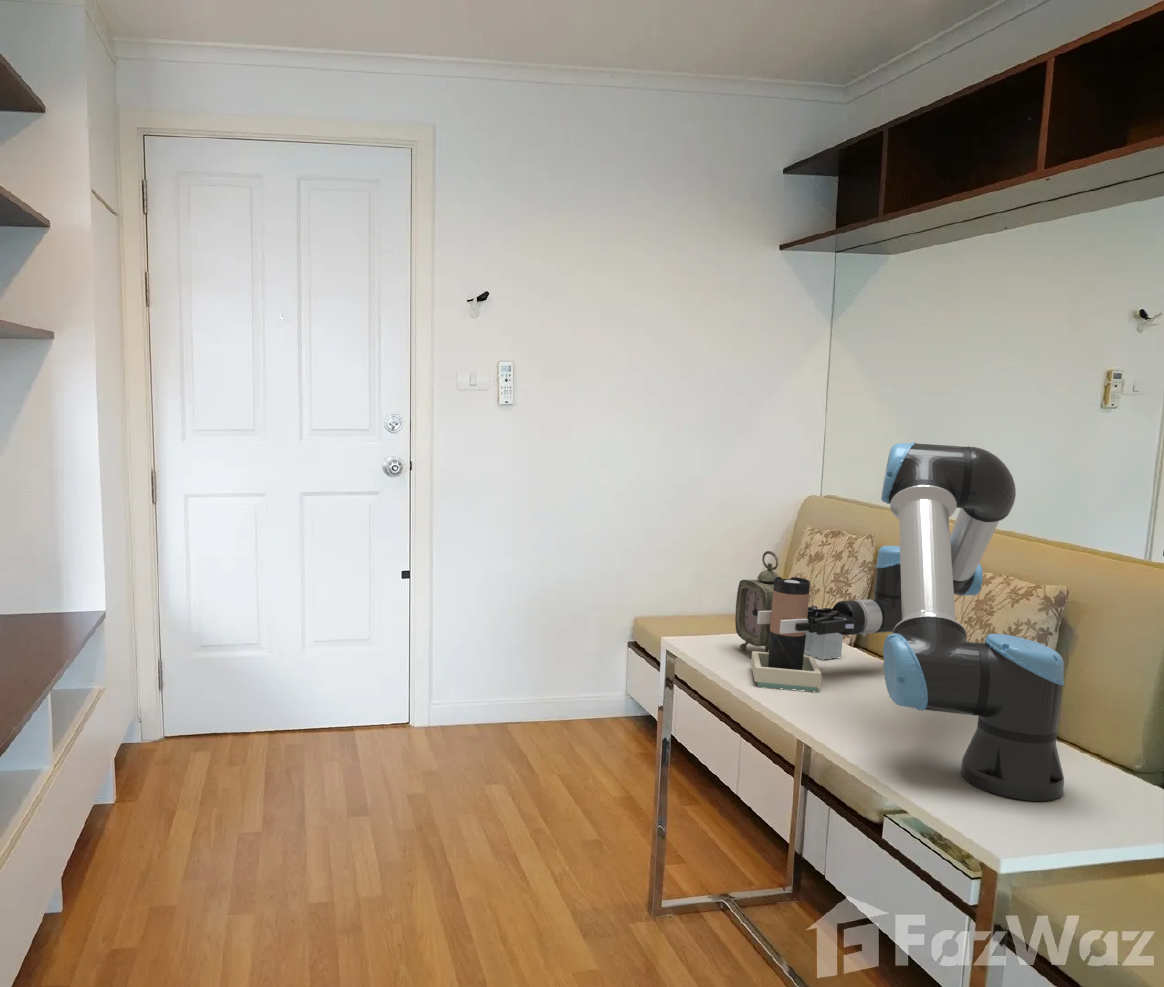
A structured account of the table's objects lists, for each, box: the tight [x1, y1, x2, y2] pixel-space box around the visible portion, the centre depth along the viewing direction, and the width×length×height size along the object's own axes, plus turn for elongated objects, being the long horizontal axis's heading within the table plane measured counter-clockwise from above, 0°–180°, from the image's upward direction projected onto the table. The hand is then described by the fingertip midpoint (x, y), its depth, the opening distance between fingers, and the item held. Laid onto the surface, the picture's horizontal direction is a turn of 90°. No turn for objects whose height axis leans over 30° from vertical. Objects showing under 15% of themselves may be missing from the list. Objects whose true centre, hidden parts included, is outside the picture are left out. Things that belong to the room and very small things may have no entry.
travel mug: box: [768, 576, 811, 670], centre depth 202 cm, size 8×8×20 cm
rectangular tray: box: [750, 650, 822, 693], centre depth 204 cm, size 18×13×4 cm
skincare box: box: [804, 607, 844, 661], centre depth 226 cm, size 10×6×10 cm, turn 29°
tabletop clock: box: [734, 550, 780, 652], centre depth 220 cm, size 14×9×25 cm, turn 17°
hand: (769, 622), depth 199 cm, fingers closed on travel mug, 7 cm apart
